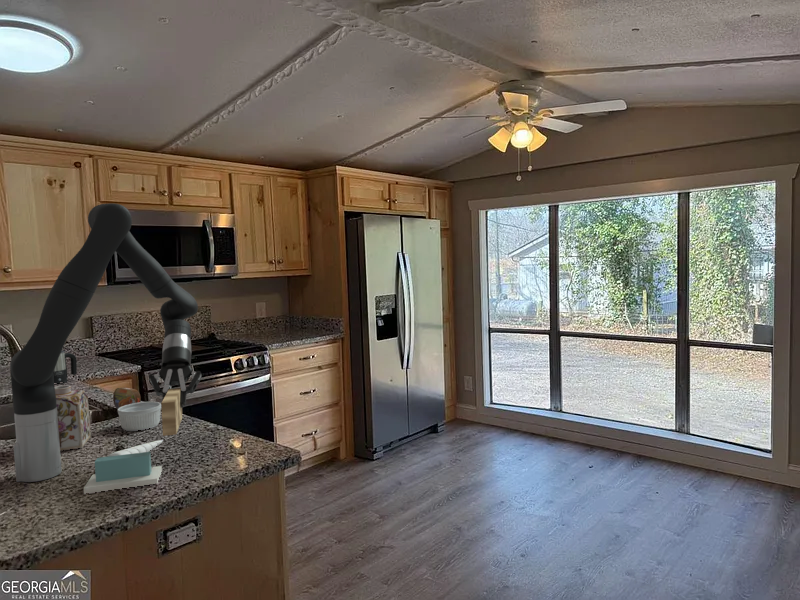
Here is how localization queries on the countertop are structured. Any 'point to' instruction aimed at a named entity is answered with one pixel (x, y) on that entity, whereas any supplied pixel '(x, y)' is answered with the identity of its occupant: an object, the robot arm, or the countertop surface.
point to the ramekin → (139, 415)
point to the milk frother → (64, 367)
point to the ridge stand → (122, 472)
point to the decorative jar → (72, 417)
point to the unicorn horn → (138, 448)
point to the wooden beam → (171, 412)
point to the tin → (125, 397)
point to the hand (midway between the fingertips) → (174, 406)
